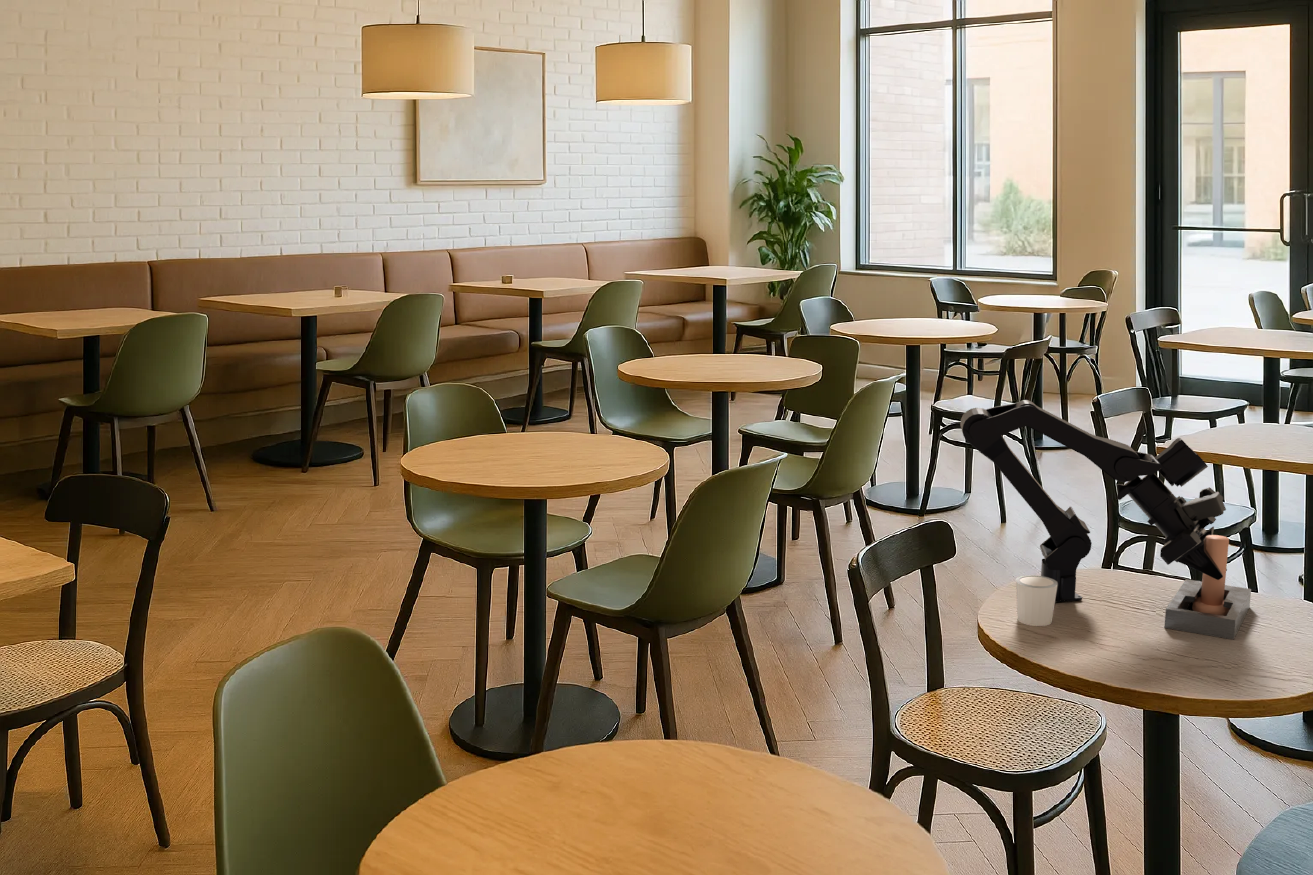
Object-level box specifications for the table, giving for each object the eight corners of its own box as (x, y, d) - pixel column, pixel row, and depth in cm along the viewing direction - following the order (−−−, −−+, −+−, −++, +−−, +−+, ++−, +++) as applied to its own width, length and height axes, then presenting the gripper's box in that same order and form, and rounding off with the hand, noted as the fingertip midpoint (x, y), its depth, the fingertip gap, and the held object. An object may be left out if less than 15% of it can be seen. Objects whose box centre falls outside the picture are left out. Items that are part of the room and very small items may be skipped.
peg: (1186, 610, 212) (1192, 538, 209) (1200, 602, 216) (1206, 531, 213) (1222, 619, 208) (1229, 545, 205) (1235, 610, 212) (1242, 537, 209)
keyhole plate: (1233, 639, 199) (1235, 620, 199) (1164, 627, 205) (1165, 608, 204) (1249, 607, 214) (1251, 589, 213) (1184, 596, 220) (1185, 579, 219)
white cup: (1050, 613, 212) (1053, 574, 211) (1059, 627, 206) (1062, 587, 204) (1010, 612, 213) (1012, 574, 211) (1017, 626, 206) (1019, 587, 205)
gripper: (1186, 487, 202) (1254, 562, 198) (1206, 465, 217) (1270, 534, 213) (1132, 527, 208) (1198, 600, 204) (1156, 502, 223) (1217, 570, 219)
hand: (1222, 575), depth 210 cm, fingers closed on peg, 4 cm apart
